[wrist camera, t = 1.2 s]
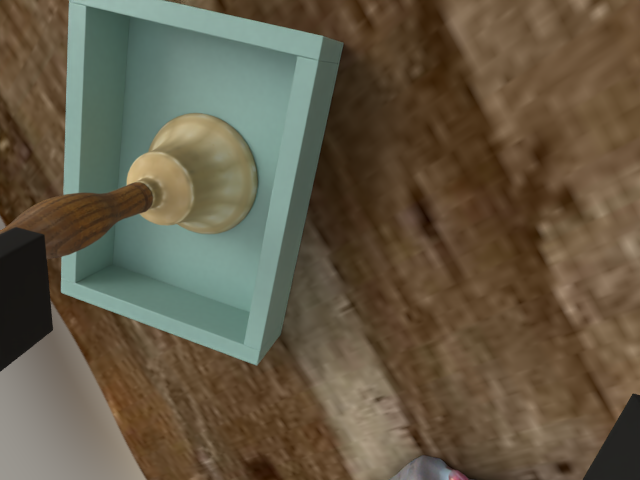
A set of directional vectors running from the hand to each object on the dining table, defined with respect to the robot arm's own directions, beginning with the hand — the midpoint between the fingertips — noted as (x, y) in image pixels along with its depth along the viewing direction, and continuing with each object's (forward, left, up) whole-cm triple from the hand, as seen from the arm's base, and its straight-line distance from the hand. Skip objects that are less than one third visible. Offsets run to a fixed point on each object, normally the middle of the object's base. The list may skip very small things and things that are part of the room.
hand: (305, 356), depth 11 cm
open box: (+1, -14, -21) cm, 25 cm away
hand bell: (+1, -14, -21) cm, 25 cm away
